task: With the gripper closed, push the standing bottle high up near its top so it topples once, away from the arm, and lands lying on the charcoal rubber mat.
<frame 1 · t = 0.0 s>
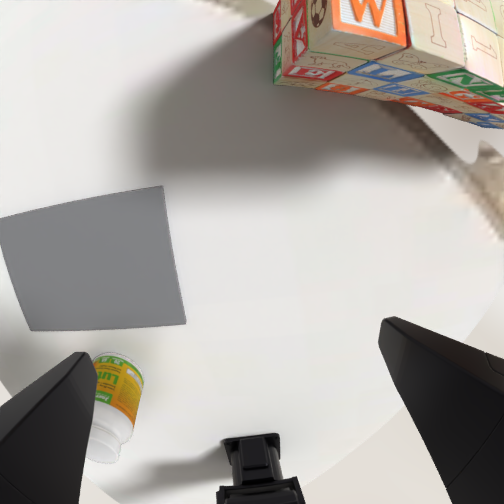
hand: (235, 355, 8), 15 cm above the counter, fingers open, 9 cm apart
charcoal mat: (81, 268, 22), on the counter
supplement bottle: (118, 370, 26), on the counter
stack of blocks: (398, 70, 19), on the counter
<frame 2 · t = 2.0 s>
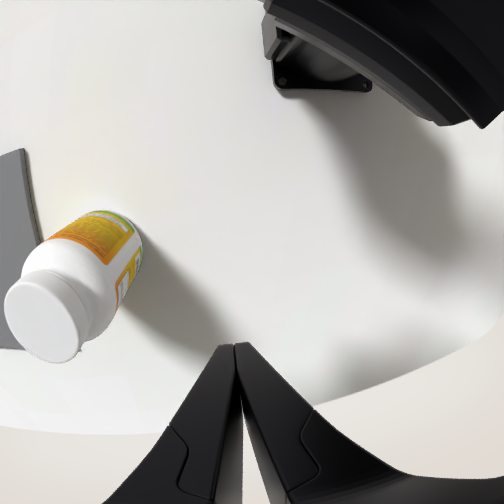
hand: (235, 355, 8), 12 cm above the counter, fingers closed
supplement bottle: (107, 246, 19), on the counter
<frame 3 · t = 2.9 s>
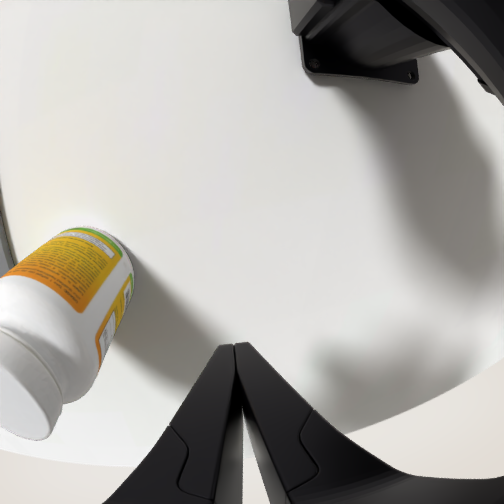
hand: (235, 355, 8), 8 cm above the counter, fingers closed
supplement bottle: (91, 270, 15), on the counter
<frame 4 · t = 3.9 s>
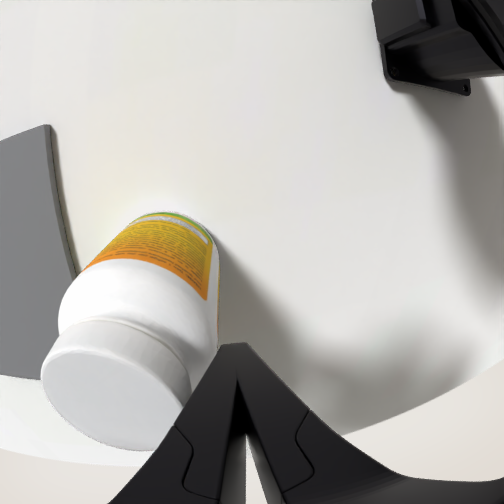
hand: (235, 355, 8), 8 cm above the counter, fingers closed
charcoal mat: (8, 276, 14), on the counter
supplement bottle: (167, 259, 15), on the counter, touching gripper
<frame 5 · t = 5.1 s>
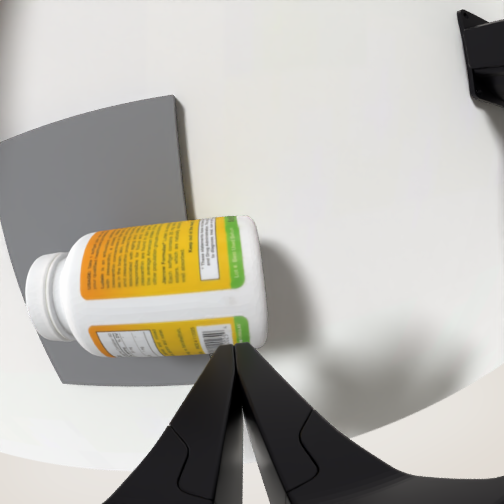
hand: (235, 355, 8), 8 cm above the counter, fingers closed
charcoal mat: (94, 269, 15), on the counter
supplement bottle: (264, 280, 12), point 3 cm above the counter, touching charcoal mat
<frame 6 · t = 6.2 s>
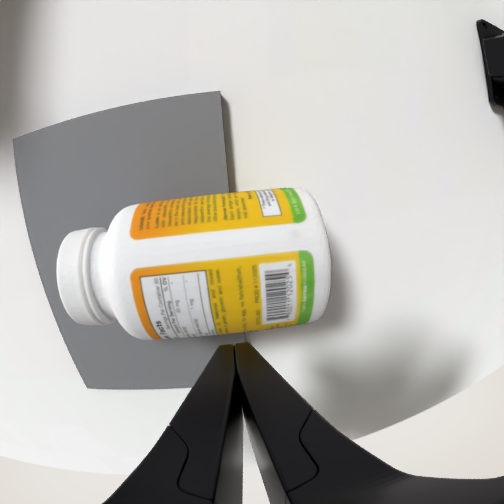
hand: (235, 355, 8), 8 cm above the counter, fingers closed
charcoal mat: (129, 268, 15), on the counter
supplement bottle: (316, 254, 12), point 3 cm above the counter, touching charcoal mat
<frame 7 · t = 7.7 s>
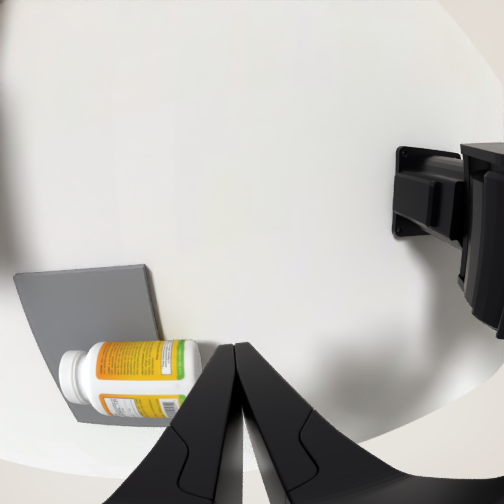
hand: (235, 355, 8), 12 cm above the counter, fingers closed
charcoal mat: (100, 360, 21), on the counter
supplement bottle: (203, 378, 19), point 3 cm above the counter, touching charcoal mat
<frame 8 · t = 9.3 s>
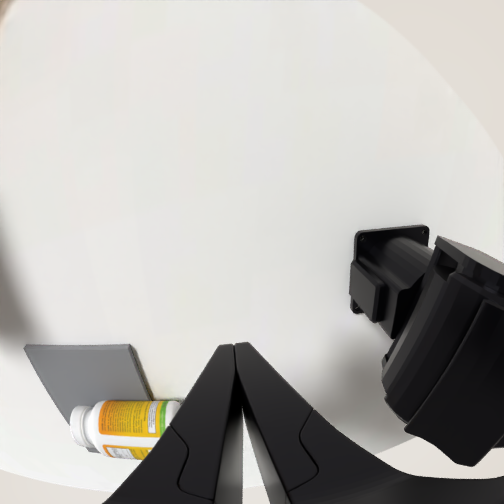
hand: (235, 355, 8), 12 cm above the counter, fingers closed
charcoal mat: (103, 409, 24), on the counter
supplement bottle: (184, 430, 21), point 3 cm above the counter, touching charcoal mat
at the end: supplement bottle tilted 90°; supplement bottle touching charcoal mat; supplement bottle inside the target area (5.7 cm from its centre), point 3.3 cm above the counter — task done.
